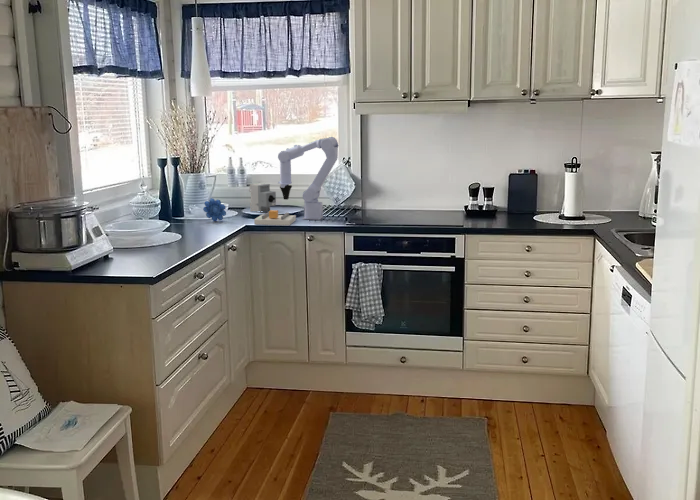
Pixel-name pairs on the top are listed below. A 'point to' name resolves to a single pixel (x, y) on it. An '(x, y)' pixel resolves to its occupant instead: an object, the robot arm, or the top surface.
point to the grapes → (214, 209)
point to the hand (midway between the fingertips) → (286, 199)
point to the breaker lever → (273, 214)
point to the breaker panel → (275, 219)
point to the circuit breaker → (261, 197)
